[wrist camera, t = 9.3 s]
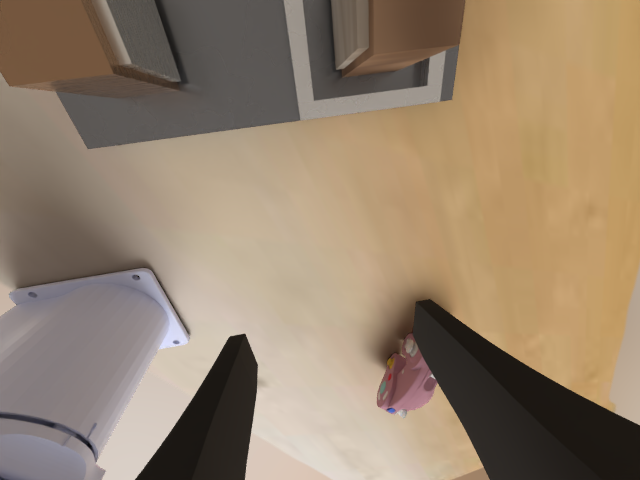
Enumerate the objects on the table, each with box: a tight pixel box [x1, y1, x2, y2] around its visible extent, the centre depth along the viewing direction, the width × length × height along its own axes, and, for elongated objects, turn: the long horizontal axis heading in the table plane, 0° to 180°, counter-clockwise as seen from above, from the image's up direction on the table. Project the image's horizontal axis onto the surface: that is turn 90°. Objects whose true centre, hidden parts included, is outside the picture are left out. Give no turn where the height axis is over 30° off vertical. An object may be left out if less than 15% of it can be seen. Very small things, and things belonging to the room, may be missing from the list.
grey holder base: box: [0, 0, 459, 149], centre depth 9 cm, size 20×8×6 cm, turn 97°
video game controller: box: [377, 333, 438, 418], centre depth 23 cm, size 10×5×7 cm, turn 159°
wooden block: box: [331, 0, 465, 78], centre depth 9 cm, size 3×4×5 cm
